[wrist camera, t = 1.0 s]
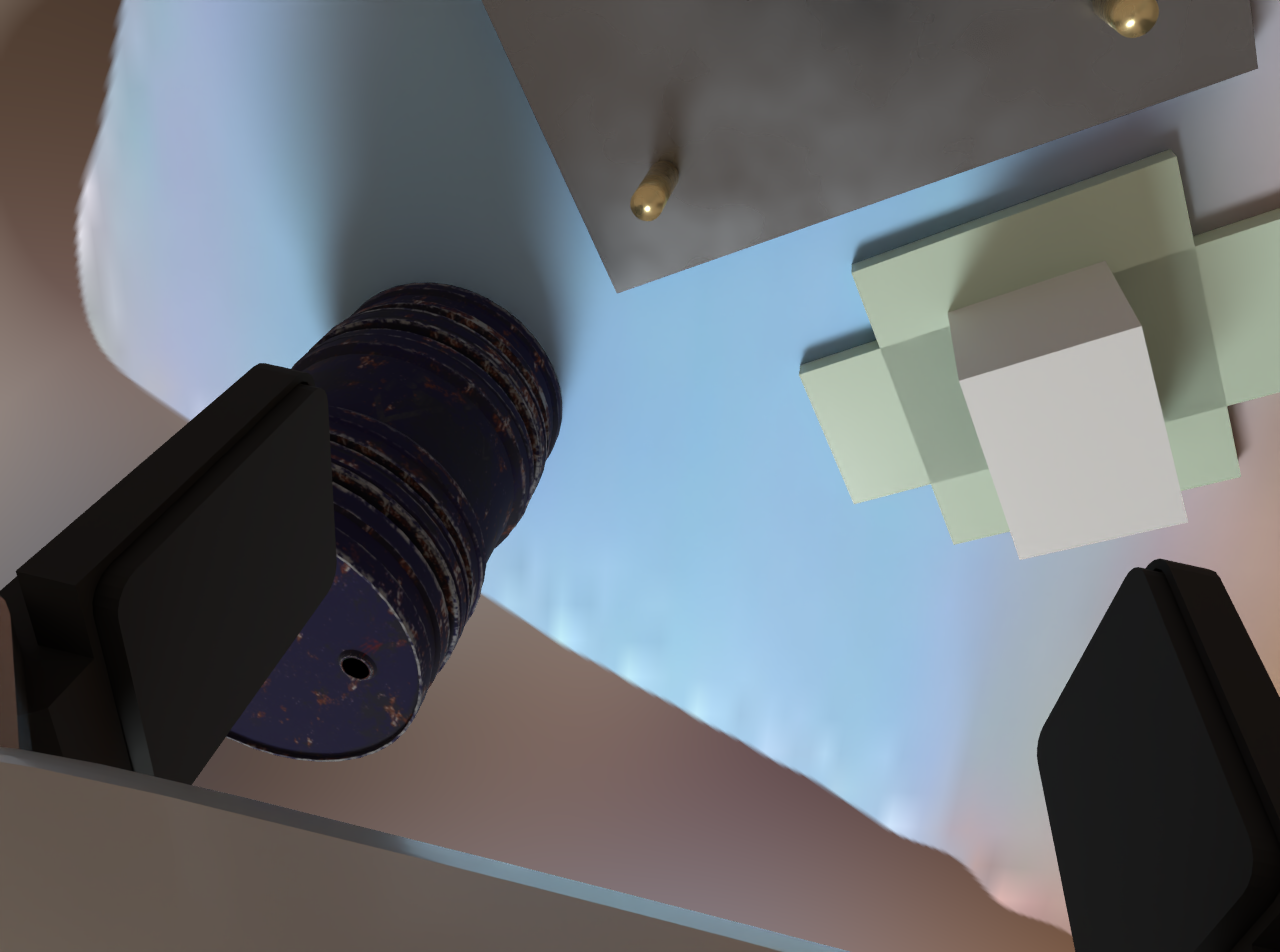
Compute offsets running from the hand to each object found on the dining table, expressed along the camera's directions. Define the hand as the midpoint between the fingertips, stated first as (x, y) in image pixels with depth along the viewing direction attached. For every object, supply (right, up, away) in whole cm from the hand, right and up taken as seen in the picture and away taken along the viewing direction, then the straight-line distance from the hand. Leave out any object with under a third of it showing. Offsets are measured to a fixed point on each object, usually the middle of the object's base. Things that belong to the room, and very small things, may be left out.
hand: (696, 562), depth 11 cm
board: (+14, +5, +23) cm, 27 cm away
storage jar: (-9, +4, +28) cm, 30 cm away
